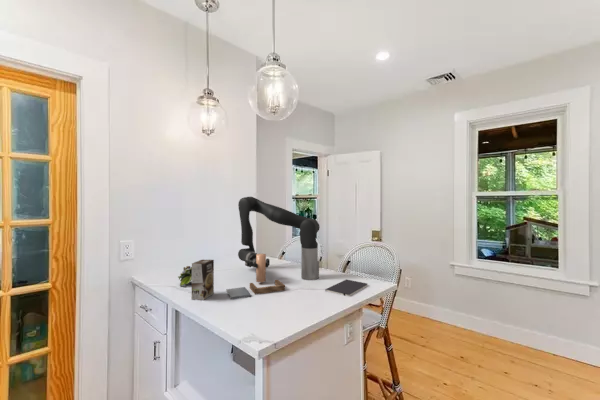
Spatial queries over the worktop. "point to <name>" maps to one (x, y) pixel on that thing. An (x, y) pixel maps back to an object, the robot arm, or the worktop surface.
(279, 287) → the wooden u-shaped frame
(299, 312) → the worktop surface
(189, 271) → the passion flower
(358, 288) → the notebook
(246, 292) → the slate pad
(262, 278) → the canister
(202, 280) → the coffee box
